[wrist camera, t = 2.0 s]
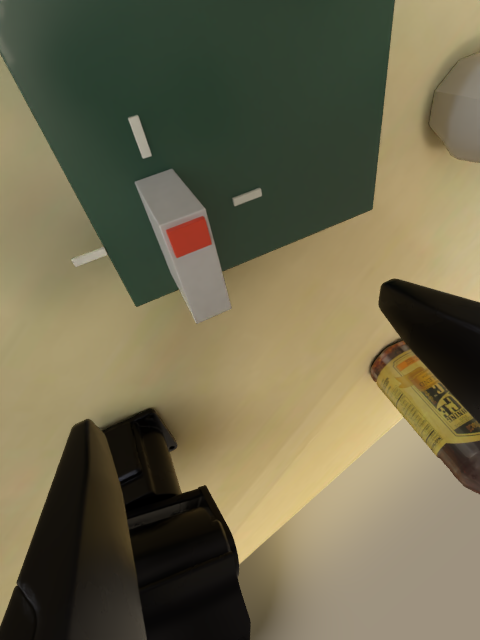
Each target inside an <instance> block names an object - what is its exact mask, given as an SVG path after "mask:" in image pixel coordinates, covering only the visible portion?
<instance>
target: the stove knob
mask: <svg viewBox="0 0 480 640" xmlns="http://www.w3.org/2000/svg"><path fill="white" fill-rule="evenodd" d="M135 185H136V187H137V190H138V192H139V195H140V197H141V200H142V202H143V205H144V207H145V210H146V212H147V215H148V217H149V220H150V222H151V225H152V227H153V230H154V232H155V235H156V237H157V240H158V242H159V245H160V247H161V250H162V252H163V255H164V258H165V260H166V263H167V265H168V268H169V270H170V273H171V275H172V277H173V278H174V280H175V282H176V284H177V286H178V288H179V290H180V292H181V294H182V296H183V298H184V300H185V302H186V304H187V306H188V308H189V310H190V312H191V314H192V316H193V318H194V320H195V322H196V323H200V322H202V321H204V320H207V319H209V318H211V317H214V316H216V315H218V314H221V313H223V312H225V311H227V310H230V309H231V308H232V307H231V303H230V299H229V296H228V292H227V288H226V284H225V281H224V277H223V273H222V269H221V266H220V262H219V258H218V254H217V250H216V247H215V243H214V239H213V235H212V232H211V228H210V224H209V220H208V216H207V213H206V209H205V208H204V207H203V205H202V204H201V203H200V202H199V201H198V199H197V198H196V197H195V196H194V194H193V193H192V192H191V191H190V190H189V188H188V187H187V186H186V185H185V184H184V182H183V181H182V180H181V179H180V177H179V176H178V175H177V174H176V173H175V171H174V170H173V169H169V170H167V171H164V172H161V173H158V174H155V175H152V176H149V177H147V178H144V179H141V180H138V181H135Z"/></svg>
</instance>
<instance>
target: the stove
mask: <svg viewBox="0 0 480 640" xmlns="http://www.w3.org/2000/svg"><path fill="white" fill-rule="evenodd" d="M394 3H395V0H0V54H1V56H2V58H3V59H4V61H5V63H6V65H7V67H8V69H9V71H10V73H11V74H12V76H13V78H14V80H15V82H16V84H17V86H18V87H19V89H20V91H21V93H22V95H23V97H24V99H25V101H26V102H27V104H28V106H29V108H30V110H31V112H32V114H33V115H34V117H35V119H36V121H37V123H38V125H39V127H40V128H41V130H42V132H43V134H44V136H45V138H46V140H47V142H48V143H49V145H50V147H51V149H52V151H53V153H54V155H55V156H56V158H57V160H58V162H59V164H60V166H61V168H62V170H63V171H64V173H65V175H66V177H67V179H68V181H69V183H70V184H71V186H72V188H73V190H74V192H75V194H76V196H77V198H78V199H79V201H80V203H81V205H82V207H83V209H84V211H85V212H86V214H87V216H88V218H89V220H90V222H91V224H92V225H93V227H94V229H95V231H96V233H97V235H98V237H99V239H100V240H101V242H102V244H103V246H104V247H101V248H98V249H96V250H93V251H90V252H88V253H85V254H83V255H80V256H77V257H75V258H72V259H71V260H72V262H73V264H74V265H75V267H77V266H80V265H83V264H85V263H88V262H91V261H93V260H96V259H98V258H101V257H104V256H106V255H107V253H108V255H109V257H110V259H111V261H112V263H113V265H114V267H115V268H116V270H117V272H118V274H119V276H120V278H121V280H122V281H123V283H124V285H125V287H126V289H127V291H128V293H129V295H130V296H131V298H132V300H133V302H134V304H135V306H136V307H138V306H140V305H143V304H145V303H147V302H150V301H152V300H155V299H157V298H160V297H162V296H164V295H167V294H169V293H172V292H174V291H176V290H179V288H178V286H177V284H176V282H175V280H174V278H173V277H172V275H171V273H170V270H169V268H168V265H167V263H166V260H165V258H164V255H163V252H162V250H161V247H160V245H159V242H158V240H157V237H156V235H155V232H154V230H153V227H152V225H151V222H150V220H149V217H148V215H147V212H146V210H145V207H144V205H143V202H142V200H141V197H140V195H139V192H138V190H137V187H136V185H135V181H138V180H141V179H144V178H147V177H149V176H152V175H155V174H158V173H161V172H164V171H167V170H169V169H173V170H174V171H175V173H176V174H177V175H178V176H179V177H180V179H181V180H182V181H183V182H184V184H185V185H186V186H187V187H188V188H189V190H190V191H191V192H192V193H193V194H194V196H195V197H196V198H197V199H198V201H199V202H200V203H201V204H202V205H203V207H204V208H205V209H206V213H207V216H208V220H209V224H210V228H211V232H212V235H213V239H214V243H215V247H216V250H217V254H218V258H219V262H220V266H221V269H222V271H225V270H227V269H230V268H232V267H235V266H237V265H239V264H242V263H244V262H247V261H249V260H251V259H254V258H256V257H259V256H261V255H264V254H266V253H268V252H271V251H273V250H276V249H278V248H280V247H283V246H285V245H288V244H290V243H293V242H295V241H297V240H300V239H302V238H305V237H307V236H309V235H312V234H314V233H317V232H319V231H322V230H324V229H326V228H329V227H331V226H334V225H336V224H338V223H341V222H343V221H346V220H348V219H351V218H353V217H355V216H358V215H360V214H363V213H365V212H367V211H370V210H372V209H373V200H374V191H375V181H376V172H377V162H378V153H379V144H380V134H381V125H382V115H383V106H384V97H385V87H386V78H387V69H388V59H389V50H390V40H391V31H392V22H393V12H394Z"/></svg>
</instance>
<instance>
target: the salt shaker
mask: <svg viewBox="0 0 480 640" xmlns="http://www.w3.org/2000/svg"><path fill="white" fill-rule="evenodd" d="M429 126H430V127H431V128H432V129H433V131H434V132H435V133H436V134H437V135H438V137H439V138H440V139H441V140H442V141H443V143H444V144H445V146H446V148H447V149H448V151H449V153H450V154H451V155H452V156H453V157H455V158H457V159H460V160H465V161H471V162H477V163H480V52H478V53H475V54H473V55H470V56H468V57H465V58H463V59H460V60H459V61H458V62H457V63H456V65H455V66H454V67H453V68H452V70H451V71H450V72H449V74H448V75H447V76H446V77H445V79H444V80H443V81H442V82H441V84H440V85H439V86H438V87H437V89H436V90H435V92H434V97H433V103H432V109H431V115H430V121H429Z"/></svg>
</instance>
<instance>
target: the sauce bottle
mask: <svg viewBox="0 0 480 640" xmlns="http://www.w3.org/2000/svg"><path fill="white" fill-rule="evenodd" d="M371 376H372V378H373V380H374V381H375V382H377V385H378V387H379V388H380V389H381V390H382V392H383V393H384V394H385V395H386V396H387V398H388V399H389V400H390V401H391V402H392V404H393V405H394V406H395V407H396V408H397V409H398V411H399V412H400V413H401V414H402V415H403V417H404V418H405V419H406V420H407V421H408V422H409V424H410V425H411V426H412V427H413V429H414V430H415V431H416V432H417V433H418V435H419V436H420V437H421V438H422V439H423V440H424V442H425V443H426V444H427V445H428V446H429V448H430V449H431V450H432V451H433V453H434V454H435V455H436V456H437V457H438V458H440V459H441V460H442V461H443V462H444V464H445V465H446V466H447V467H448V468H449V469H450V471H451V472H452V473H453V475H454V476H455V477H456V478H457V479H458V480H459V481H460V482H461V483H462V484H463V486H465V487H466V488H468V489H470V490H472V491H474V492H476V493H479V494H480V424H479V423H478V422H477V421H476V420H475V419H474V418H473V417H472V416H471V415H470V413H469V412H468V411H467V410H466V409H465V408H464V407H463V406H462V405H461V404H460V403H459V402H458V401H457V399H456V398H455V397H454V396H453V395H452V394H451V393H450V392H449V391H448V390H447V389H446V388H445V386H444V385H443V384H442V383H441V382H440V381H439V380H438V379H437V378H436V377H435V376H434V375H433V374H432V372H431V371H430V370H429V369H428V368H427V367H426V366H425V365H424V364H423V363H422V362H421V361H420V359H419V358H418V357H417V356H416V355H415V354H414V353H413V352H412V351H411V350H410V348H409V347H408V346H407V345H406V344H405V342H404V341H400V342H398V343H395V344H393V345H391V346H389V347H387V348H386V349H384V350H383V351H382V353H381V354H380V355H379V356H378V358H377V359H376V360H375V361H374V363H373V365H372V367H371Z"/></svg>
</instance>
